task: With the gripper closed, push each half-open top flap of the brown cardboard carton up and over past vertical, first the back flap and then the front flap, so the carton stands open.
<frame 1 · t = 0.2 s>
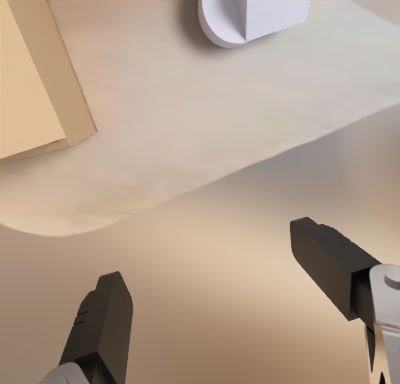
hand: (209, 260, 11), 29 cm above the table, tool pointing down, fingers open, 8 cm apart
wedge on round base: (243, 6, 33), on the table
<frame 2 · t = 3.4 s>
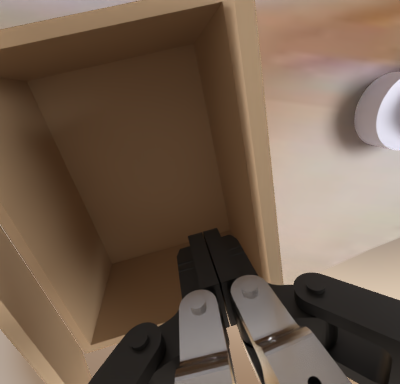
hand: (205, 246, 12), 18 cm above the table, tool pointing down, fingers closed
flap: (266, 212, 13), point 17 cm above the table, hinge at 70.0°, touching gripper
wedge on round base: (398, 105, 31), on the table
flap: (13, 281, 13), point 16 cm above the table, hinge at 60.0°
carton: (147, 167, 28), on the table
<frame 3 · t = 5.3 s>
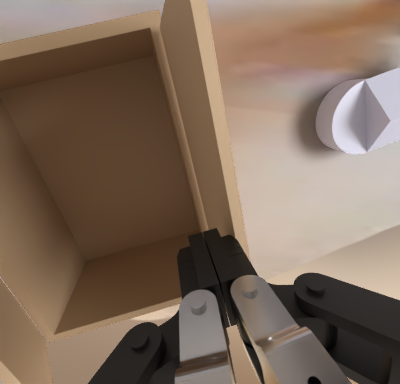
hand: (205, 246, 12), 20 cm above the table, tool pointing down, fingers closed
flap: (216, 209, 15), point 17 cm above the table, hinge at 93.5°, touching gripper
wedge on round base: (358, 111, 32), on the table
carton: (116, 170, 30), on the table
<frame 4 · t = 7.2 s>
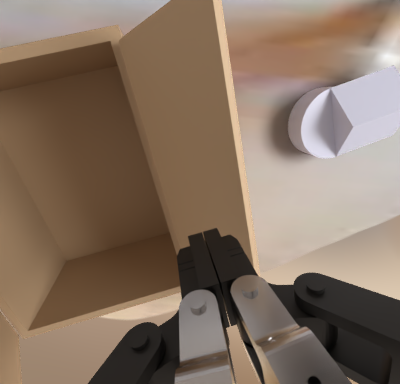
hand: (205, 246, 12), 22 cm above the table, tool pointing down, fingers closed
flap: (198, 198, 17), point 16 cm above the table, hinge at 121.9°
wedge on round base: (329, 117, 34), on the table
carton: (95, 172, 31), on the table
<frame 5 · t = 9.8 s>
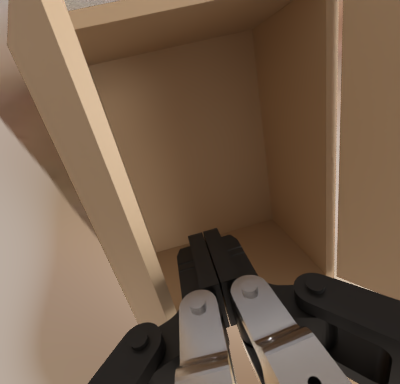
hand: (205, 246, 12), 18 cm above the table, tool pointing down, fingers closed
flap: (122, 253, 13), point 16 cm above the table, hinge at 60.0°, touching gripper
carton: (196, 154, 28), on the table
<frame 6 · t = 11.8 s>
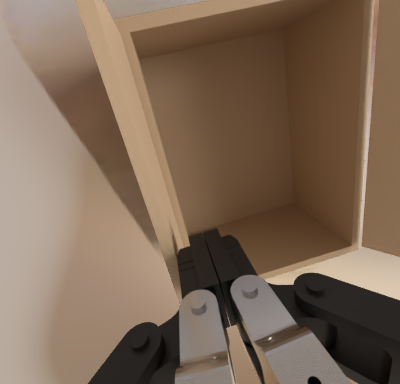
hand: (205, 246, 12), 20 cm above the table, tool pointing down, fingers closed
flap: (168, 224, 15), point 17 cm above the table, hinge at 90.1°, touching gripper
carton: (227, 142, 31), on the table
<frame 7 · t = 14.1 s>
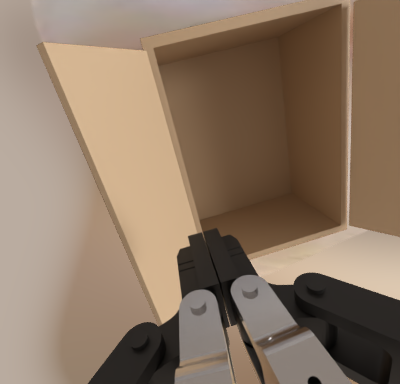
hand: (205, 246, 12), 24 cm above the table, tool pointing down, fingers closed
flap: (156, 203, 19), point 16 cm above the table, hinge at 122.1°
carton: (231, 138, 35), on the table
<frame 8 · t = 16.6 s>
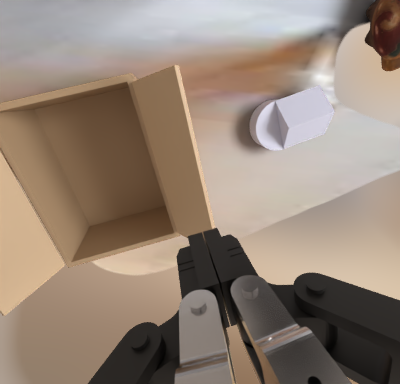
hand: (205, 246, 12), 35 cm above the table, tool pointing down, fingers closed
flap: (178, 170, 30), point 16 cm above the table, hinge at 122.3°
wedge on round base: (280, 120, 47), on the table
decorative turtle: (377, 27, 43), on the table
carton: (111, 161, 44), on the table
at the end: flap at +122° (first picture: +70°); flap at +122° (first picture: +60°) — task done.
